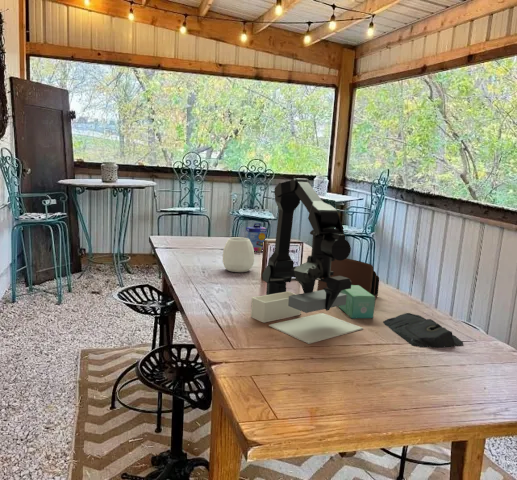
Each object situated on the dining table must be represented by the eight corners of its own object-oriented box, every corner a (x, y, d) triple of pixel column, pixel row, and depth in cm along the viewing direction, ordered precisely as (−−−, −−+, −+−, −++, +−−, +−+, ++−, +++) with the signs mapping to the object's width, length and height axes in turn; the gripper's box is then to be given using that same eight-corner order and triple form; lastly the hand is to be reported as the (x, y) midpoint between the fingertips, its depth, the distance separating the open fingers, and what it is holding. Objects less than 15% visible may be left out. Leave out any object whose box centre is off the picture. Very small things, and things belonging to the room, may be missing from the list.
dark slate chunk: (424, 322, 156) (426, 307, 155) (467, 349, 135) (469, 332, 134) (378, 322, 153) (380, 307, 152) (415, 350, 132) (417, 333, 131)
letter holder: (369, 303, 173) (373, 263, 170) (316, 292, 182) (319, 254, 180) (378, 297, 181) (381, 258, 179) (326, 287, 191) (329, 251, 189)
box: (351, 319, 153) (353, 295, 152) (336, 306, 167) (338, 284, 165) (373, 319, 155) (376, 295, 154) (356, 306, 168) (359, 284, 167)
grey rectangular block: (288, 305, 140) (288, 295, 140) (327, 298, 150) (328, 288, 150) (306, 312, 135) (307, 302, 134) (345, 304, 145) (346, 294, 144)
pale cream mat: (268, 326, 143) (268, 324, 143) (322, 314, 157) (322, 312, 157) (308, 343, 131) (308, 342, 131) (362, 329, 145) (363, 327, 144)
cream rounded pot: (253, 275, 203) (254, 242, 201) (220, 273, 203) (221, 240, 201) (254, 268, 216) (255, 237, 214) (223, 266, 216) (224, 235, 214)
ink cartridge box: (247, 252, 252) (249, 223, 249) (244, 250, 257) (245, 222, 254) (266, 251, 255) (267, 223, 253) (261, 249, 261) (263, 222, 258)
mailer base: (250, 316, 150) (251, 297, 149) (287, 309, 159) (288, 291, 158) (263, 322, 145) (264, 302, 144) (300, 314, 155) (301, 295, 154)
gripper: (278, 249, 142) (274, 302, 145) (326, 262, 128) (321, 320, 131) (306, 246, 149) (302, 297, 152) (354, 258, 135) (349, 314, 138)
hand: (317, 306), depth 143 cm, fingers closed on grey rectangular block, 7 cm apart
